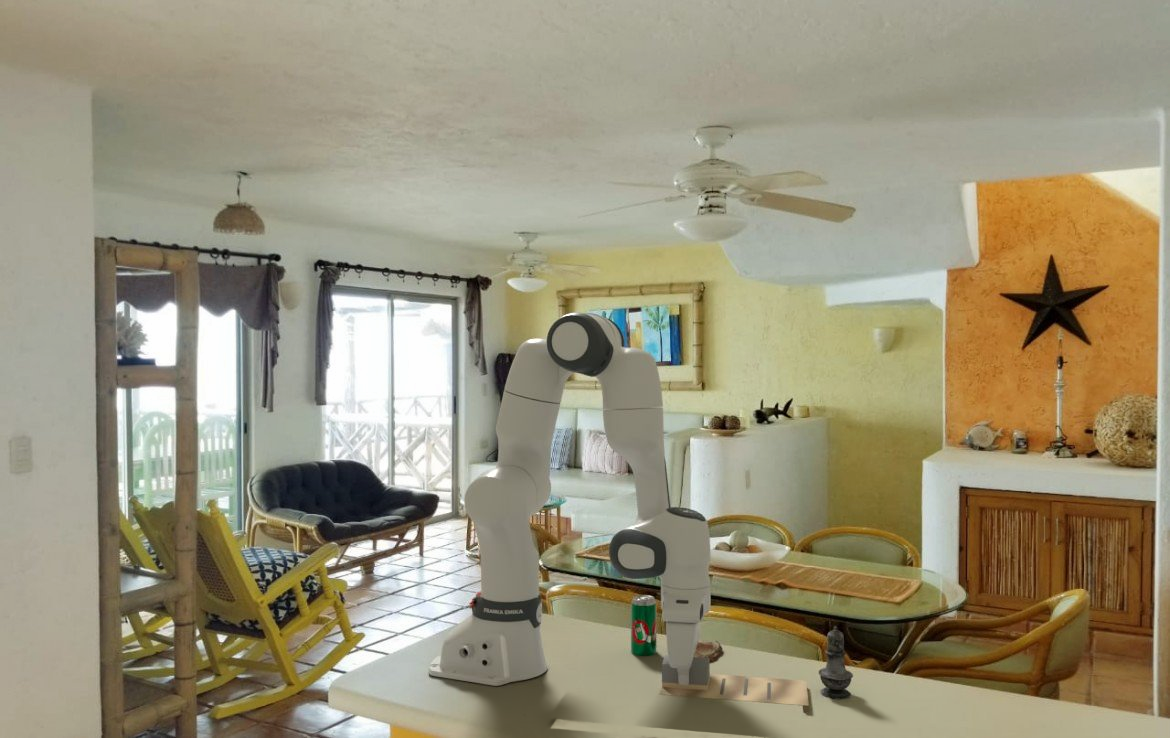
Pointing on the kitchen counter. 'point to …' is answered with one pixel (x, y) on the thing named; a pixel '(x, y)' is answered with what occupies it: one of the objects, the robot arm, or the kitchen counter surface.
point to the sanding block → (697, 674)
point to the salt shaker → (835, 668)
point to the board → (749, 690)
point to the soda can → (643, 625)
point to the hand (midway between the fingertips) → (685, 677)
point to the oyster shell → (708, 650)
